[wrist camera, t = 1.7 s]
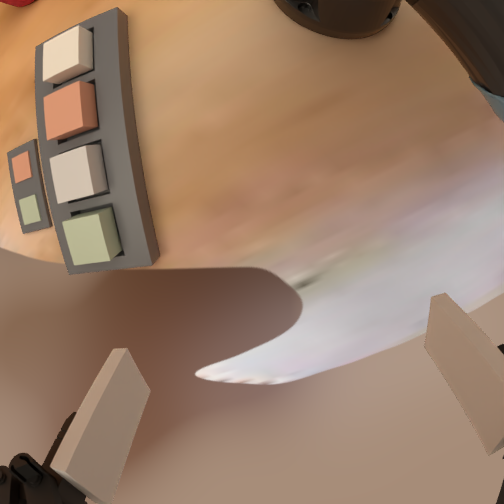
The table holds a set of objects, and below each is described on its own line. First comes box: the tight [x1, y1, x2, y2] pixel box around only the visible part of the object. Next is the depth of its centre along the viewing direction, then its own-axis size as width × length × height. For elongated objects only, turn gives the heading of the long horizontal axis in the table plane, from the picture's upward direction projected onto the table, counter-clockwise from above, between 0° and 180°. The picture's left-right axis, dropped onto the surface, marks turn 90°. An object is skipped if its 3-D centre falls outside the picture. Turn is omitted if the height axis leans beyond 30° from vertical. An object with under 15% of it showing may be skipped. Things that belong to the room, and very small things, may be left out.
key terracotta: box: [43, 81, 98, 141], centre depth 24 cm, size 5×5×3 cm
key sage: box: [62, 207, 122, 265], centre depth 29 cm, size 5×5×3 cm
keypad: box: [35, 7, 160, 275], centre depth 27 cm, size 30×12×3 cm, turn 7°
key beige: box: [49, 144, 108, 204], centre depth 26 cm, size 5×5×3 cm
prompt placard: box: [7, 139, 52, 234], centre depth 30 cm, size 12×6×1 cm, turn 7°
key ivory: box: [43, 25, 93, 84], centre depth 21 cm, size 5×5×3 cm
